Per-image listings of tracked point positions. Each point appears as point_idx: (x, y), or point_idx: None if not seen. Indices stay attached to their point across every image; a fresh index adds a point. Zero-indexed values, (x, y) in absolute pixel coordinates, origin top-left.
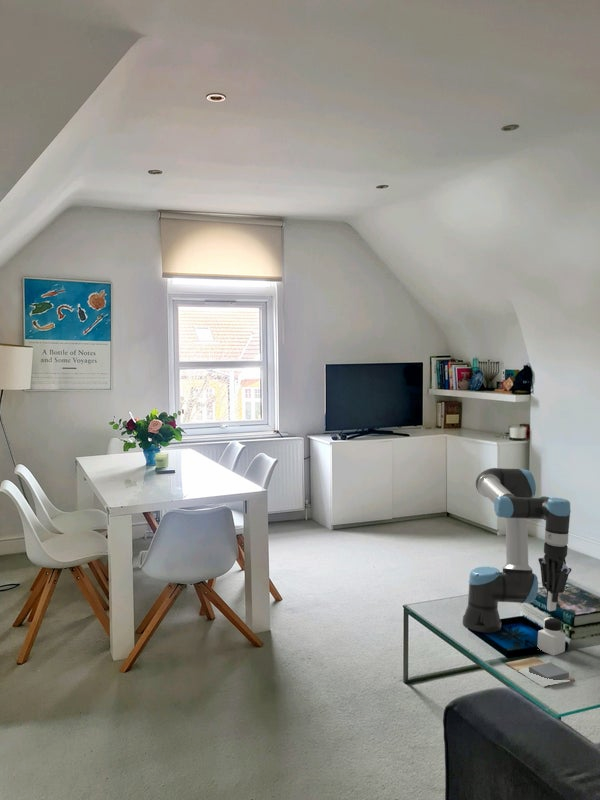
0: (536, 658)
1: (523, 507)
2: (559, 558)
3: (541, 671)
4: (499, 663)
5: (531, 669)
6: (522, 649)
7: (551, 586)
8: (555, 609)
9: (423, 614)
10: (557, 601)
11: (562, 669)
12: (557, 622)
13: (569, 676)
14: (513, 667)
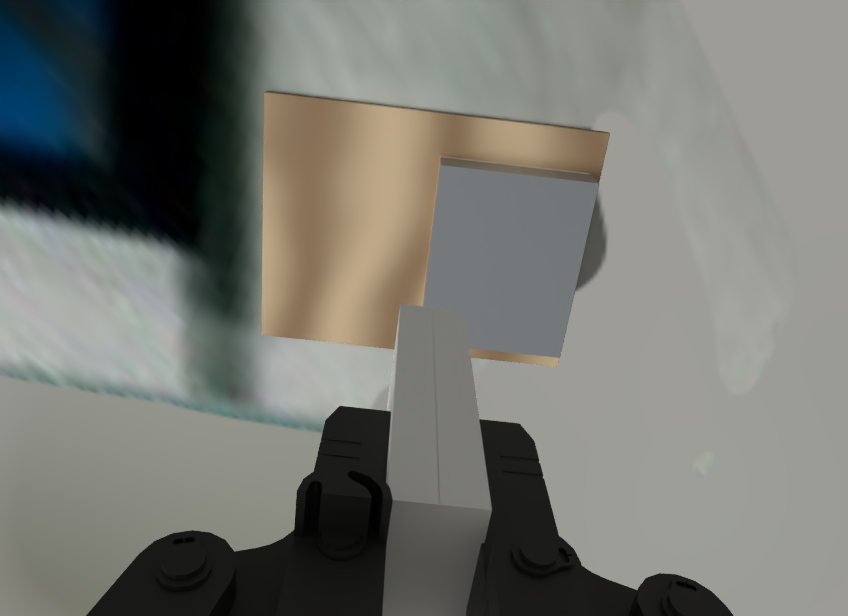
0: (288, 104)
1: None
2: None
3: (496, 328)
4: (243, 349)
5: None
6: (120, 46)
7: (325, 603)
8: (462, 323)
9: None
10: (525, 432)
11: (550, 186)
12: None
13: (569, 130)
14: (325, 338)
